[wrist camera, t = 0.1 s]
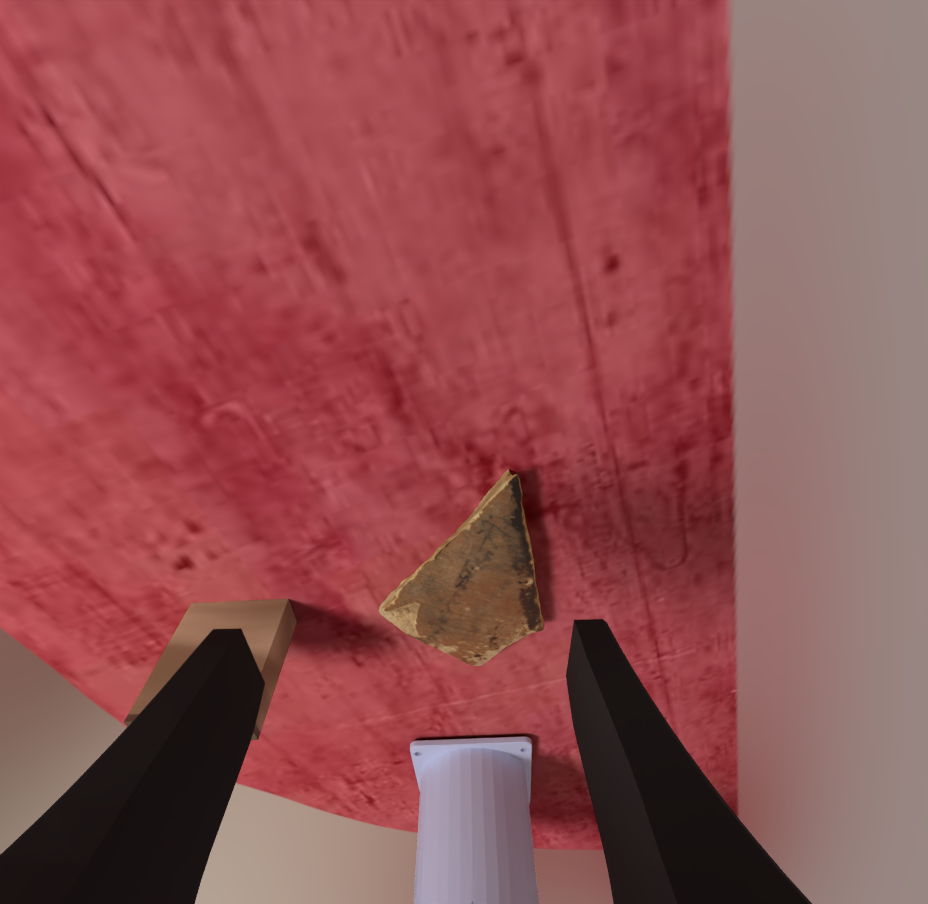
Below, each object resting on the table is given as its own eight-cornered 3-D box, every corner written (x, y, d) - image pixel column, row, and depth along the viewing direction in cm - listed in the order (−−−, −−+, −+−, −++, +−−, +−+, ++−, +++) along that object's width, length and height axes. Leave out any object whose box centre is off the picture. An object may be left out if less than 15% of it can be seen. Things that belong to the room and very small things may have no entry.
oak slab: (297, 621, 26) (257, 739, 21) (203, 625, 26) (142, 744, 21) (288, 598, 25) (245, 717, 20) (191, 603, 25) (124, 722, 20)
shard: (513, 453, 21) (517, 479, 19) (635, 535, 23) (647, 563, 22) (375, 592, 25) (370, 621, 24) (489, 647, 28) (491, 677, 26)
